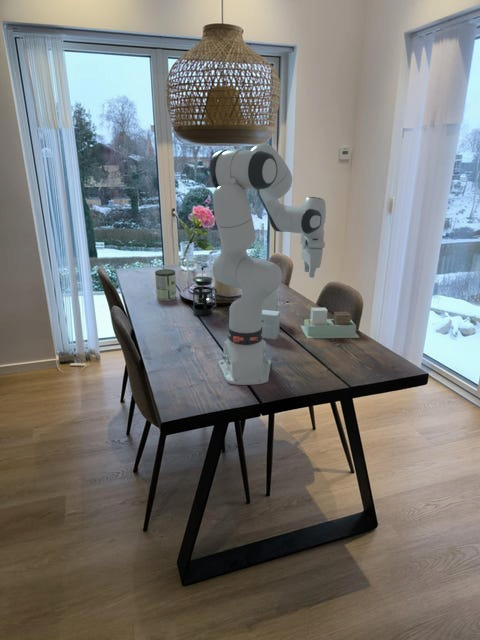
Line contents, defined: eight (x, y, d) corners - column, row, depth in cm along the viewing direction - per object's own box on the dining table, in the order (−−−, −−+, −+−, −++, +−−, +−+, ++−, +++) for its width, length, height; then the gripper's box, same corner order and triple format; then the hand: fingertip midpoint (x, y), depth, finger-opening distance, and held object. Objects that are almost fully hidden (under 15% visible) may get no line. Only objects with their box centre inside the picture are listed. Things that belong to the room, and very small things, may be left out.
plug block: (325, 333, 183) (327, 310, 179) (311, 333, 182) (313, 310, 179) (323, 329, 186) (325, 307, 183) (309, 329, 186) (311, 307, 182)
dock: (359, 339, 179) (361, 327, 177) (306, 340, 178) (307, 328, 176) (349, 327, 192) (350, 315, 190) (300, 327, 191) (300, 316, 189)
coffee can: (160, 294, 234) (158, 268, 229) (178, 295, 233) (177, 269, 228) (153, 300, 225) (152, 273, 220) (173, 301, 223) (172, 274, 218)
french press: (194, 317, 201) (193, 268, 193) (189, 311, 209) (188, 264, 201) (218, 315, 204) (218, 267, 196) (213, 309, 213) (213, 262, 205)
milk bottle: (275, 324, 194) (277, 281, 187) (258, 323, 195) (259, 279, 189) (277, 318, 201) (279, 276, 194) (260, 317, 203) (262, 275, 196)
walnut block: (349, 332, 183) (351, 315, 180) (335, 333, 183) (336, 315, 180) (346, 329, 187) (348, 311, 184) (332, 329, 187) (334, 311, 184)
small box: (279, 334, 183) (280, 311, 179) (276, 339, 178) (277, 315, 174) (260, 332, 185) (261, 309, 181) (257, 337, 180) (258, 313, 176)
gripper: (299, 235, 181) (296, 268, 186) (309, 243, 162) (306, 280, 166) (314, 236, 181) (311, 268, 186) (326, 244, 162) (322, 280, 167)
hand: (309, 274), depth 176 cm, fingers open, 8 cm apart
